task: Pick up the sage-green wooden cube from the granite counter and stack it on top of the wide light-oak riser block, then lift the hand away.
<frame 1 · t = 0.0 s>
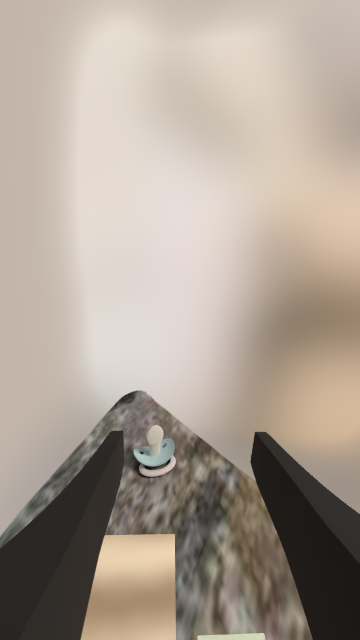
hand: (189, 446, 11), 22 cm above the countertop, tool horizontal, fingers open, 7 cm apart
oak riser: (117, 637, 18), on the countertop
pacifier: (156, 464, 36), on the countertop
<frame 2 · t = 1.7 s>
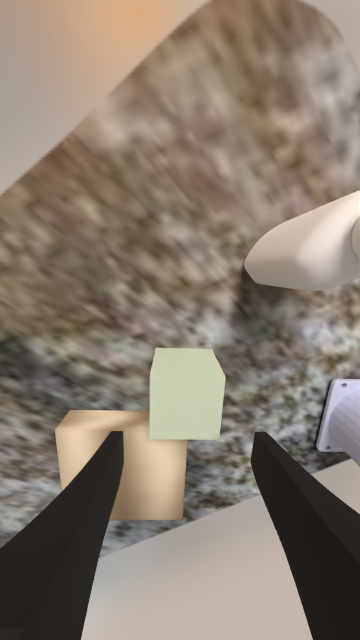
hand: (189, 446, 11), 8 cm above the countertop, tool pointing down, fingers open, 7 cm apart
oak riser: (130, 449, 21), on the countertop
green cube: (182, 373, 19), on the countertop
eye dropper bottle: (273, 252, 17), on the countertop
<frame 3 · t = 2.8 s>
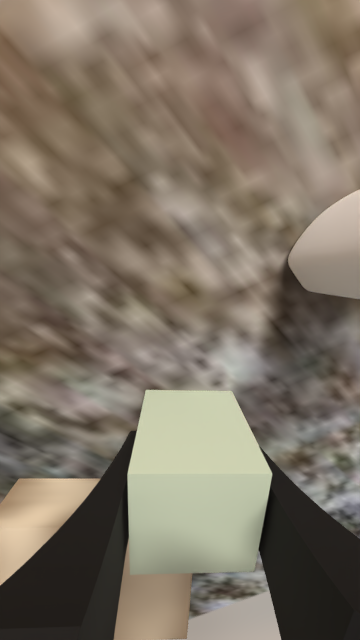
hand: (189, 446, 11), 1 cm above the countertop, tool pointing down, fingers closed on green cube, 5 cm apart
oak riser: (111, 527, 15), on the countertop
green cube: (187, 427, 12), on the countertop, touching gripper
eye dropper bottle: (335, 241, 10), on the countertop
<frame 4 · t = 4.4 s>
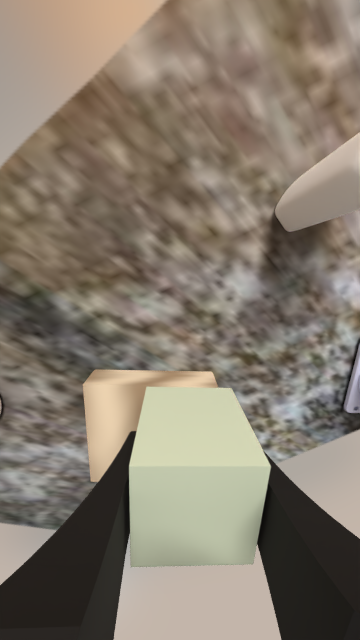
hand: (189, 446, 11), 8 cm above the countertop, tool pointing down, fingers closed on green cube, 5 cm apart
oak riser: (154, 413, 21), on the countertop
green cube: (187, 423, 13), point 7 cm above the countertop, touching gripper
eye dropper bottle: (305, 200, 16), on the countertop
when the fingers open (5 cm above the countertop, at t = 5.9 s): green cube drops 1 cm, resting on oak riser.
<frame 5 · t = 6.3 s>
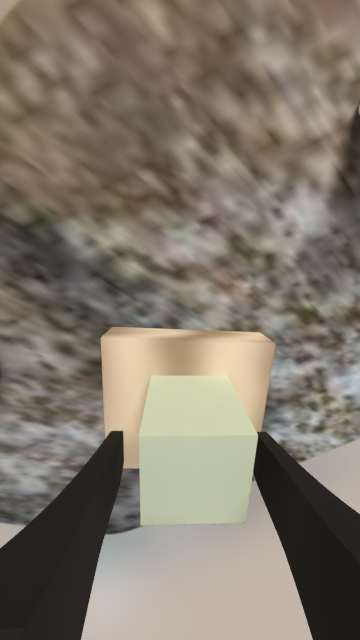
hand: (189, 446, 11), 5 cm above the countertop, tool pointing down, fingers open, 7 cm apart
oak riser: (183, 385, 17), on the countertop, touching green cube
green cube: (187, 408, 14), point 2 cm above the countertop, touching oak riser
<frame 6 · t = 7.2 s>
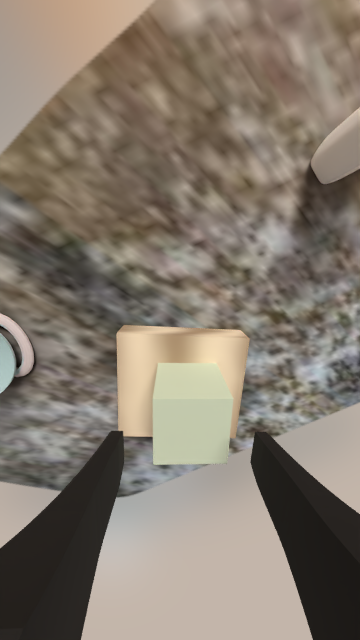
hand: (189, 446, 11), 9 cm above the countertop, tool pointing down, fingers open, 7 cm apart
oak riser: (179, 373, 21), on the countertop, touching green cube
green cube: (186, 389, 18), point 2 cm above the countertop, touching oak riser
pacifier: (4, 346, 19), on the countertop
eye dropper bottle: (340, 153, 16), on the countertop
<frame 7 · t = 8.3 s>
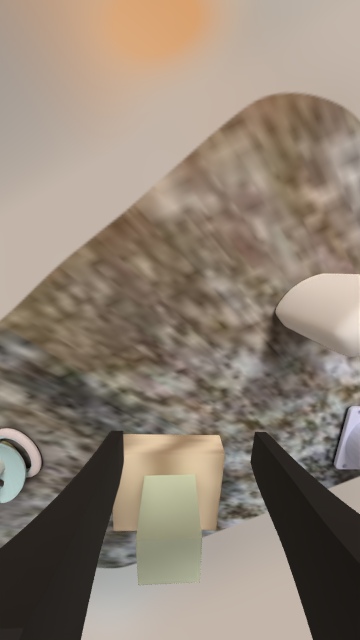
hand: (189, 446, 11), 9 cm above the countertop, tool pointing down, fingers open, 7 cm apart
oak riser: (167, 467, 24), on the countertop
green cube: (169, 494, 21), point 2 cm above the countertop
pacifier: (15, 450, 22), on the countertop
eye dropper bottle: (301, 300, 19), on the countertop
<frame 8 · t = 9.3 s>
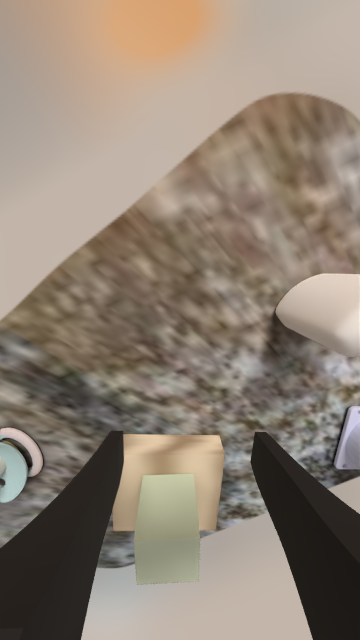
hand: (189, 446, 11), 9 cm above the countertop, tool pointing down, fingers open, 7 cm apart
oak riser: (167, 467, 24), on the countertop, touching green cube
green cube: (168, 493, 21), point 2 cm above the countertop, touching oak riser
pacifier: (16, 449, 22), on the countertop
eye dropper bottle: (301, 300, 19), on the countertop
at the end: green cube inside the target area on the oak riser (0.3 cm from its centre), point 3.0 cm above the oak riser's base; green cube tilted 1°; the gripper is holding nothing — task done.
